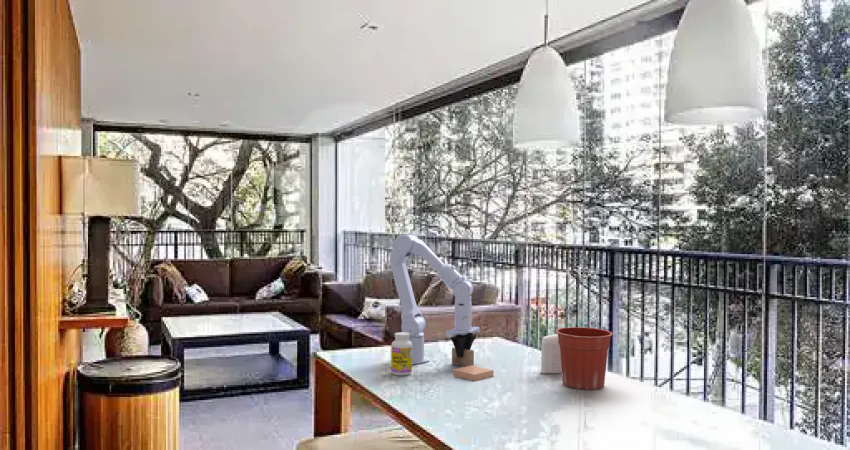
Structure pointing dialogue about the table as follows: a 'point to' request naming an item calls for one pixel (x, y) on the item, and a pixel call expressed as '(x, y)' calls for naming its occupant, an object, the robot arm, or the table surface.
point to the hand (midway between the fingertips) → (462, 356)
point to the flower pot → (583, 356)
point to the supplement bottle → (401, 354)
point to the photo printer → (551, 355)
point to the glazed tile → (473, 372)
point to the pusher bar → (463, 358)
